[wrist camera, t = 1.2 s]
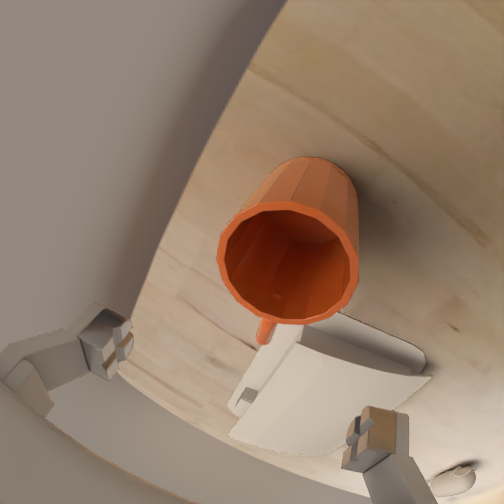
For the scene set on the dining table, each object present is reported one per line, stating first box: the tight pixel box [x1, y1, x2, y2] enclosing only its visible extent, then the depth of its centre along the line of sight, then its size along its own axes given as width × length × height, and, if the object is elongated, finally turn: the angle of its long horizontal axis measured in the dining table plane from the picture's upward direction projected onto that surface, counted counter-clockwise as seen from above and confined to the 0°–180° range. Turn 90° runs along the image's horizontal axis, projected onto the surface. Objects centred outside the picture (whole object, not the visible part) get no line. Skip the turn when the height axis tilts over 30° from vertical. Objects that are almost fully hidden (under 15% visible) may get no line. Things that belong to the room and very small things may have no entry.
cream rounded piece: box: [430, 466, 476, 497], centre depth 34 cm, size 6×5×12 cm
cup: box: [217, 157, 359, 345], centre depth 19 cm, size 10×7×8 cm, turn 168°
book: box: [227, 312, 433, 456], centre depth 30 cm, size 15×23×4 cm, turn 161°
